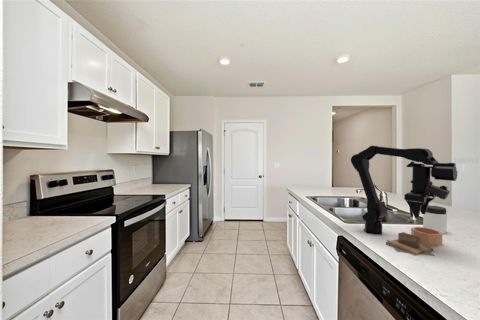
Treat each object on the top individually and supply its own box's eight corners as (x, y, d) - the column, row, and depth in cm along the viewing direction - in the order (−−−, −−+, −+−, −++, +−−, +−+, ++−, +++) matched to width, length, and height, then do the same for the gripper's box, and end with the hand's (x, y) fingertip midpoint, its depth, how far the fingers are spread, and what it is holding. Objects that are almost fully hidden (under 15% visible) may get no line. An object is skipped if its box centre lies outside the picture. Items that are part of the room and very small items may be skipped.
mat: (396, 252, 82) (397, 251, 82) (386, 240, 94) (386, 240, 94) (435, 257, 79) (435, 256, 79) (419, 244, 90) (419, 243, 90)
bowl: (417, 245, 89) (417, 233, 89) (407, 236, 99) (407, 225, 99) (447, 248, 86) (447, 236, 86) (434, 239, 96) (434, 228, 96)
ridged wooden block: (415, 255, 79) (415, 242, 79) (385, 244, 89) (386, 232, 89) (433, 250, 83) (433, 238, 83) (402, 240, 93) (403, 229, 93)
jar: (443, 235, 100) (443, 210, 100) (421, 230, 107) (421, 206, 107) (448, 231, 105) (448, 207, 105) (427, 227, 112) (427, 204, 112)
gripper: (442, 182, 76) (440, 225, 77) (452, 178, 88) (451, 216, 88) (404, 179, 85) (403, 217, 86) (418, 176, 96) (417, 210, 97)
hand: (420, 215), depth 89 cm, fingers open, 9 cm apart
